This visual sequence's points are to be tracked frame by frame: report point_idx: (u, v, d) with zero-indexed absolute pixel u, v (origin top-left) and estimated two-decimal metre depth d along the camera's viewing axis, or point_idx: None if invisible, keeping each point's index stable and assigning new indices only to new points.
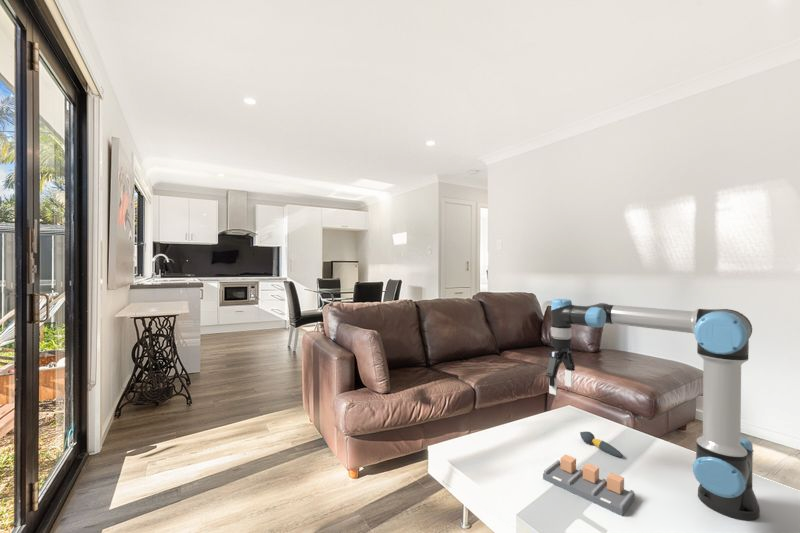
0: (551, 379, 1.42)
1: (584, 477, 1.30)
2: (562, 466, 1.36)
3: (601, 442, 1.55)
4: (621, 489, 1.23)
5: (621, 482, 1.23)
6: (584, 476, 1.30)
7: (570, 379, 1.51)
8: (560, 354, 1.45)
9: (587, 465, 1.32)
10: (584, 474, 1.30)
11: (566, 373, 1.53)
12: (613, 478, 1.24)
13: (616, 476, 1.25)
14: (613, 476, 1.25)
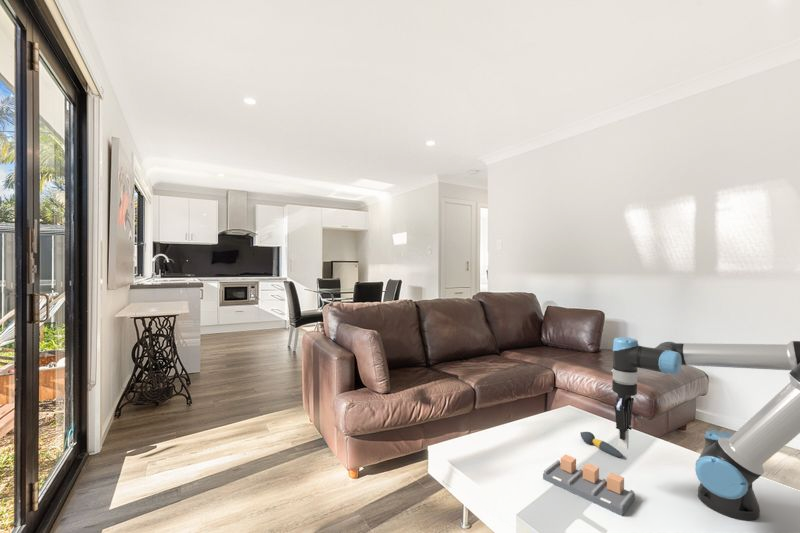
0: (622, 432, 1.29)
1: (584, 477, 1.30)
2: (562, 466, 1.36)
3: (601, 442, 1.55)
4: (621, 489, 1.23)
5: (621, 482, 1.23)
6: (584, 476, 1.30)
7: None
8: (625, 401, 1.28)
9: (587, 465, 1.32)
10: (584, 474, 1.30)
11: None
12: (613, 478, 1.24)
13: (616, 476, 1.25)
14: (613, 476, 1.25)
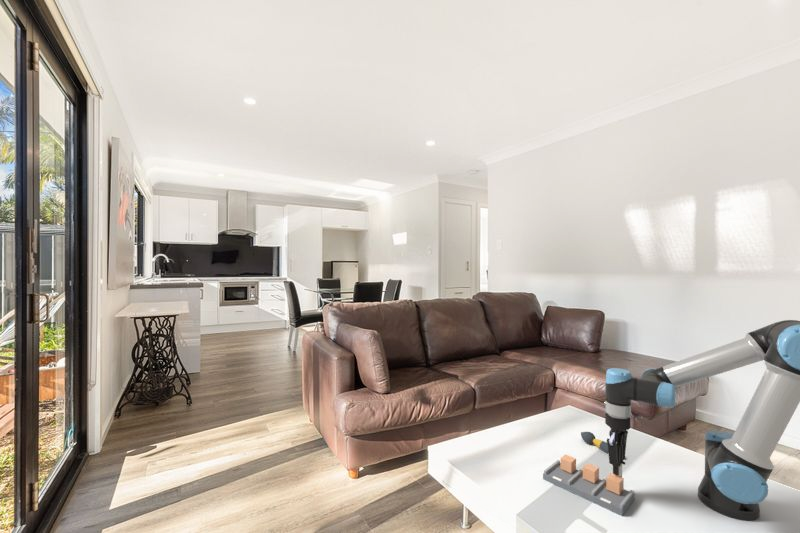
0: (615, 467, 1.25)
1: (584, 477, 1.30)
2: (562, 466, 1.36)
3: (601, 442, 1.55)
4: (620, 490, 1.23)
5: (620, 483, 1.22)
6: (584, 476, 1.30)
7: None
8: (618, 435, 1.24)
9: (587, 465, 1.32)
10: (584, 474, 1.30)
11: None
12: (613, 478, 1.24)
13: (615, 477, 1.25)
14: (613, 477, 1.25)
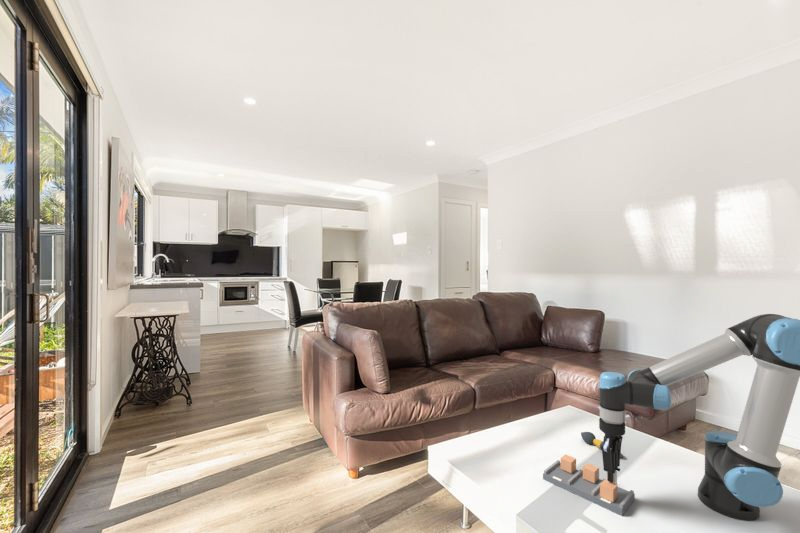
0: (610, 474, 1.21)
1: (584, 477, 1.30)
2: (562, 466, 1.36)
3: (602, 442, 1.55)
4: (614, 497, 1.19)
5: (614, 490, 1.19)
6: (584, 476, 1.30)
7: None
8: (612, 441, 1.20)
9: (587, 465, 1.32)
10: (584, 474, 1.30)
11: None
12: (606, 485, 1.20)
13: (609, 483, 1.21)
14: (607, 484, 1.21)
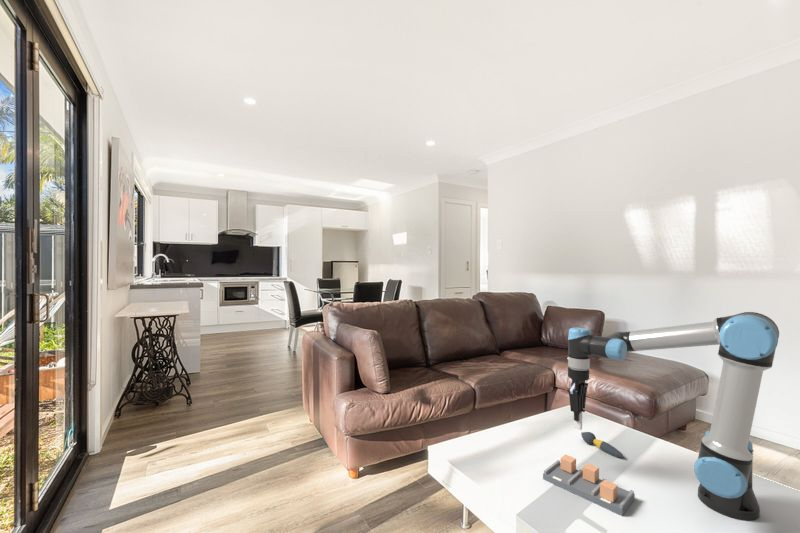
0: (576, 414, 1.41)
1: (584, 477, 1.30)
2: (562, 466, 1.36)
3: (602, 443, 1.55)
4: (614, 497, 1.19)
5: (614, 490, 1.19)
6: (584, 476, 1.30)
7: None
8: (578, 385, 1.39)
9: (587, 465, 1.32)
10: (584, 474, 1.30)
11: None
12: (606, 485, 1.20)
13: (609, 483, 1.21)
14: (607, 484, 1.21)
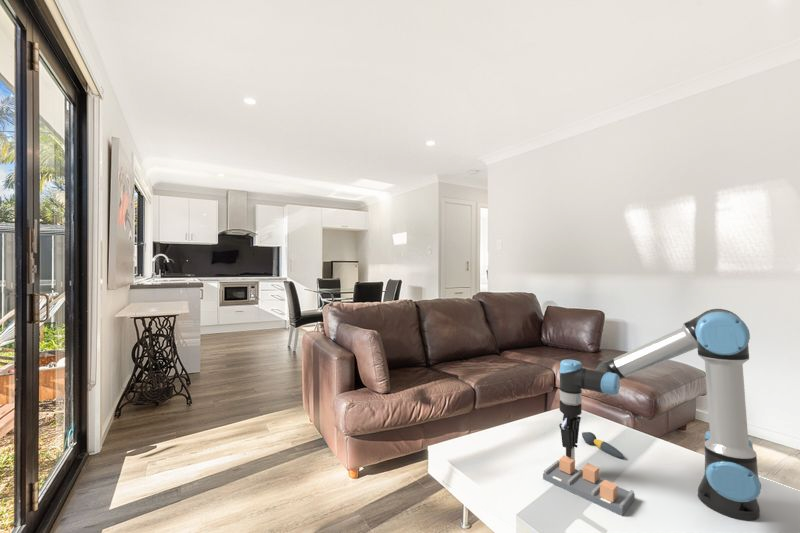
0: (568, 450, 1.37)
1: (584, 477, 1.30)
2: (561, 467, 1.36)
3: (602, 443, 1.54)
4: (614, 497, 1.19)
5: (614, 490, 1.19)
6: (584, 476, 1.30)
7: None
8: (570, 420, 1.35)
9: (587, 465, 1.32)
10: (584, 474, 1.30)
11: None
12: (606, 485, 1.20)
13: (609, 483, 1.21)
14: (607, 484, 1.21)
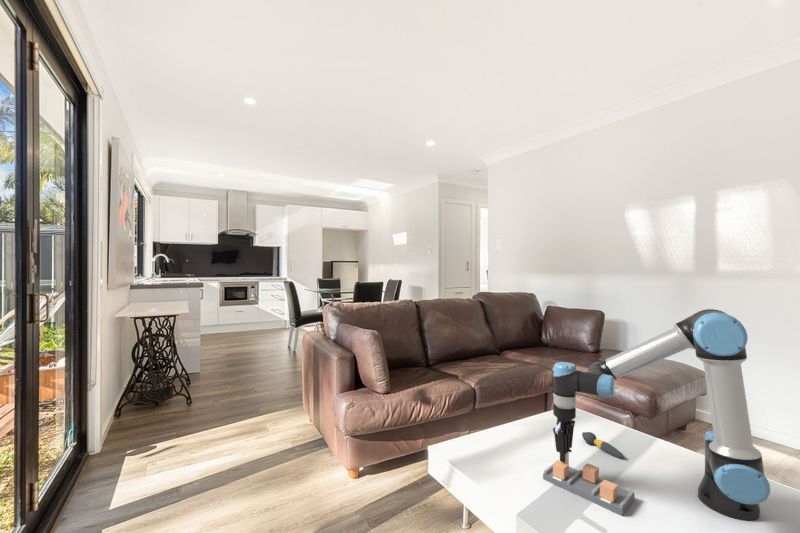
0: (562, 454, 1.33)
1: (584, 477, 1.30)
2: (555, 473, 1.32)
3: (602, 443, 1.54)
4: (614, 497, 1.19)
5: (614, 490, 1.19)
6: (584, 476, 1.30)
7: None
8: (564, 424, 1.32)
9: (587, 465, 1.32)
10: (584, 474, 1.30)
11: None
12: (606, 485, 1.20)
13: (609, 483, 1.21)
14: (607, 484, 1.21)
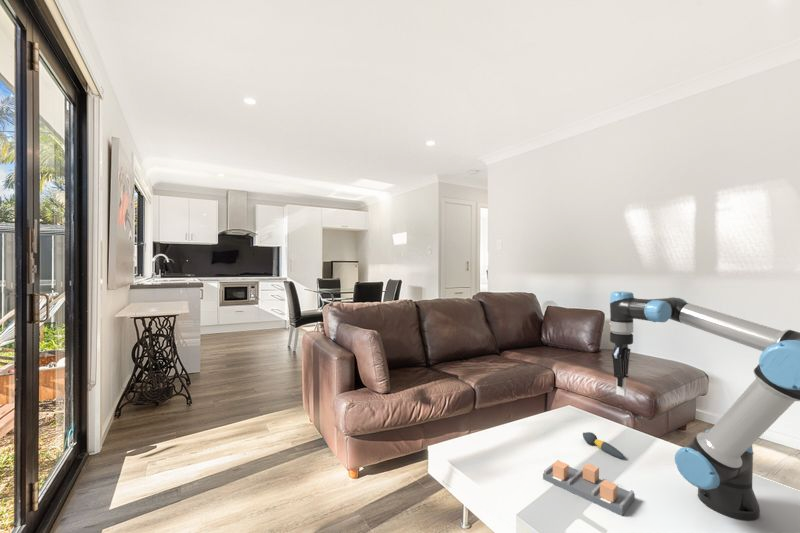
0: (619, 379, 1.38)
1: (584, 477, 1.30)
2: (555, 473, 1.32)
3: (603, 443, 1.54)
4: (614, 497, 1.19)
5: (614, 490, 1.19)
6: (584, 476, 1.30)
7: None
8: (622, 349, 1.36)
9: (587, 465, 1.32)
10: (584, 474, 1.30)
11: None
12: (606, 485, 1.20)
13: (609, 483, 1.21)
14: (607, 484, 1.21)
